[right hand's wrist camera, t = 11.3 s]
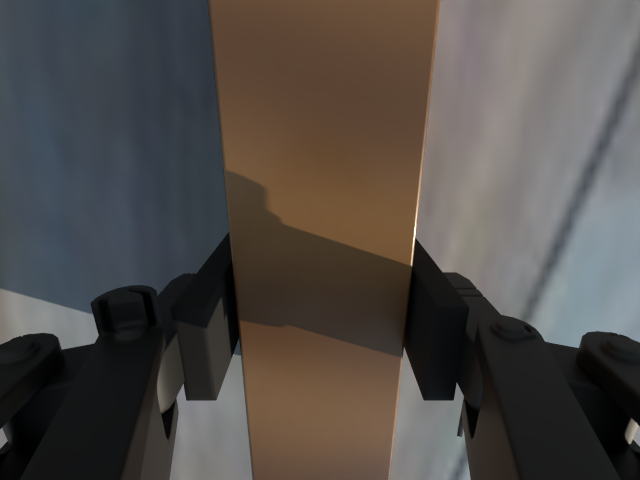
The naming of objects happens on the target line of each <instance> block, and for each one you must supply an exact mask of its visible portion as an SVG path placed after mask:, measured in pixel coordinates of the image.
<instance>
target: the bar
mask: <svg viewBox="0 0 640 480" xmlns="http://www.w3.org/2000/svg"><path fill="white" fill-rule="evenodd" d="M439 8H440V0H208V11H209V22H210V32H211V43H212V54H213V64H214V75H215V85H216V96H217V107H218V117H219V128H220V138H221V149H222V160H223V170H224V181H225V191H226V202H227V213H228V223H229V234H230V244H231V255H232V266H233V276H234V287H235V297H236V308H237V319H238V329H239V340H240V350H241V361H242V372H243V382H244V393H245V403H246V414H247V425H248V435H249V446H250V457H251V467H252V478H253V480H390V474H391V464H392V455H393V445H394V436H395V426H396V417H397V407H398V398H399V388H400V379H401V369H402V360H403V350H404V341H405V331H406V322H407V312H408V303H409V293H410V284H411V274H412V265H413V255H414V246H415V236H416V227H417V217H418V208H419V198H420V189H421V179H422V170H423V160H424V151H425V141H426V132H427V122H428V113H429V103H430V94H431V84H432V75H433V65H434V56H435V46H436V37H437V27H438V18H439Z"/></svg>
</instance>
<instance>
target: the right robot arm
mask: <svg viewBox="0 0 640 480" xmlns="http://www.w3.org/2000/svg"><path fill="white" fill-rule="evenodd" d="M91 307H92V311H93V315H94V319H95V322H96V326H97V330H98V334H99V336H98V338H97V340H96V342H95V343H94V344H90V345H85V346H80V347H74V348H69V349H63V350H62V349H61V346H60V343H59V339H58V337H56V336H55V335H53V334H48V333H38V334H28V335H23V337H21V336H19V337H16V338H13V339H12V340H10V341H8V342H6V343H3V344H1V345H0V429H1V428H3V430H4V433H5V435H6V437H7V440H8V441H7V442H6V443H5V445H4V446H3V447H2V448H1V449H0V480H169V478H170V471H171V464H172V456H173V449H174V442H175V435H176V428H177V420H178V413H179V412H178V405H177V400H176V397H177V395H178V393H179V391H180V389H181V387H182V385H183V383H184V389H185V395H186V400H217V397H218V394H219V391H220V389H221V386H222V383H223V380H224V378H225V375H226V372H227V369H228V367H229V364H230V361H231V358H232V356H233V353H234V350H235V347H236V345H237V342H238V339H239V329H238V319H237V308H236V297H235V287H234V276H233V266H232V255H231V244H230V234H229V233H228V234H227V235H226V237H225V238H224V239H223V240H222V242H221V243H220V244H219V246H218V247H217V248H216V249H215V251H214V252H213V253H212V255H211V256H210V257H209V258H208V260H207V261H206V262H205V264H204V265H203V266H202V267H201V269H200V270H199V271H198V272H197V274H183V275H181V276H179V277H177V278H175V279H174V280H172V281H171V282H170V283H169V284H168V285H167V286H166V287H165V288H164V291H162V292H161V293H160V294H159V295H158V296H157V292H156V290H155V289H153V288H152V287H149V286H143V285H137V286H127V287H122V288H117V289H115V290H112V291H109V292H106V293H104V294H102V295H100V296H99V297H97V298H96V299H95V300H94V301H92V302H91ZM404 347H405V350H406V353H407V356H408V358H409V361H410V364H411V367H412V369H413V372H414V375H415V378H416V380H417V383H418V386H419V389H420V391H421V394H422V397H423V399H424V400H454V395H455V389H456V383H458V385H459V387H460V389H461V391H462V393H463V395H464V400H463V405H462V410H461V416H460V421H459V426H458V433H457V436H460V437H462V434H463V430H464V434H465V441H466V448H467V456H468V463H469V470H470V477H471V480H640V447H639V446H638V445H637V443H636V442H635V441H634V440H633V438H634V435H635V433H636V431H637V428H638V426H640V343H639V342H637V341H634V340H632V339H630V338H629V337H627V336H623V335H620V334H619V335H618V334H616V333H611V332H609V333H608V332H599V331H596V332H588V333H586V334H585V335H583V336H582V340H581V343H580V346H579V348H575V347H569V346H564V345H558V344H553V343H548V342H545V341H544V339H543V338H542V336H541V334H540V333H539V332H538V331H537V330H536V329H535V328H534V327H532V326H531V325H529V324H527V323H526V322H524V321H521V320H519V319H516V318H513V317H508V316H504V315H501V314H500V313H499V312H498V311H497V310H496V309H495V308H494V307H493V306H492V305H491V303H490V302H489V301H488V300H487V299H486V298H485V297H483V295H482V294H481V292H480V291H479V290H477V289H476V287H475V286H474V285H473V284H472V282H471V281H470V280H469V279H467V278H465V277H463V276H462V275H460V274H458V273H443V272H442V271H441V270H440V269H439V267H438V266H437V265H436V263H435V262H434V261H433V260H432V258H431V257H430V256H429V255H428V253H427V252H426V251H425V249H424V248H423V247H422V246H421V244H420V243H419V242H418V240H417V239H416V238H415V246H414V255H413V265H412V274H411V284H410V293H409V303H408V312H407V322H406V331H405V341H404Z"/></svg>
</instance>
